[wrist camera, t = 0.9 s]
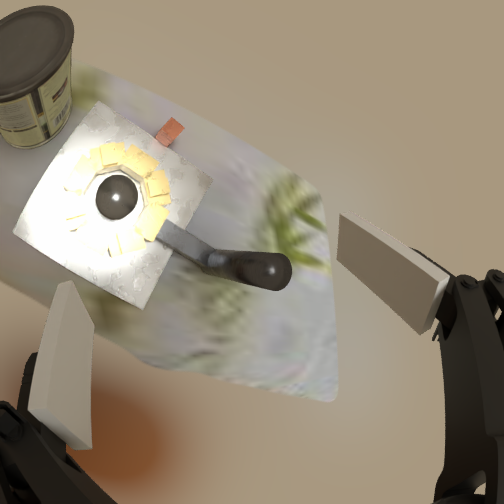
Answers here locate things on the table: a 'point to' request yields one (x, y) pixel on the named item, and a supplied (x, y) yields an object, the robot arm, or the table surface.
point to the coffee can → (35, 75)
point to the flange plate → (82, 258)
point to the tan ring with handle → (158, 221)
